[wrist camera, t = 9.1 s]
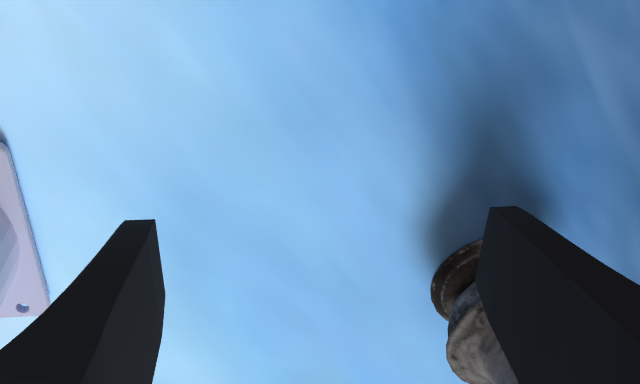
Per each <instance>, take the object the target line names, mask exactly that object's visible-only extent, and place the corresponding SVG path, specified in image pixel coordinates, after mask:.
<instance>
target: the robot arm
mask: <svg viewBox="0 0 640 384" xmlns="http://www.w3.org/2000/svg"><path fill="white" fill-rule="evenodd" d="M475 282H476V286H477V289H478V292H479V295H480V299H481V302H482V305H483V308H484V311H485V313H486V316H487V319H488V321H489V323H490V325H491V328H492V330H493V332H494V334H495V336H496V338H497V340H498V342H499V344H500V346H501V348H502V350H503V352H504V354H505V356H506V358H507V360H508V362H509V364H510V366H511V368H512V370H513V372H514V374H515V376H516V378H517V380H518V382H519V384H640V285H638V284H636V283H635V282H633V281H631V280H630V279H628V278H626V277H625V276H623V275H621V274H620V273H618V272H616V271H615V270H613V269H611V268H610V267H608V266H607V265H605V264H603V263H602V262H600V261H599V260H597V259H596V258H594V257H593V256H591V255H590V254H588V253H586V252H585V251H584V250H582V249H581V248H579V247H578V246H576V245H575V244H573V243H572V242H570V241H569V240H567V239H566V238H564V237H563V236H561V235H560V234H559V233H557V232H556V231H554V230H553V229H551V228H550V227H548V226H547V225H545V224H544V223H542V222H541V221H540V220H538V219H537V218H535V217H534V216H532V215H531V214H529V213H527V212H526V211H524V210H522V209H521V208H519V207H517V206H508V207H490V210H489V214H488V219H487V224H486V228H485V233H484V238H483V242H482V247H481V252H480V256H479V261H478V265H477V270H476V275H475ZM20 303H23V304H26V305H28V306H22V305H21V304H20ZM164 305H165V289H164V281H163V274H162V267H161V259H160V252H159V245H158V237H157V230H156V223H155V219H152V220H125V221H124V222H123V223H122V224H121V225H120V226H119V227H118V228H117V230H116V231H115V232H114V233H113V235H112V236H111V237H110V238H109V240H108V241H107V242H106V243H105V245H104V246H103V247H102V248H101V250H100V251H99V252H98V253H97V254H96V256H95V257H94V258H93V259H92V260H91V262H90V263H89V264H88V265H87V266H86V267H85V268H84V270H83V271H82V272H81V273H80V274H79V275H78V276H77V278H76V279H75V280H74V281H73V282H72V283H71V284H70V285H69V286H68V288H67V289H66V290H65V291H64V292H63V293H62V294H61V295H60V296H59V297H58V298H57V299H56V300H55V301H54V302H53V303H52V304H51V305H50V298H49V295H48V291H47V287H46V283H45V280H44V276H43V272H42V269H41V265H40V261H39V258H38V254H37V250H36V247H35V243H34V239H33V236H32V232H31V228H30V224H29V221H28V217H27V213H26V210H25V206H24V202H23V199H22V195H21V191H20V188H19V184H18V180H17V176H16V173H15V169H14V165H13V162H12V158H11V154H10V151H9V149H8V147H7V146H5V145H4V144H3V143H1V142H0V318H4V317H23V316H39V315H40V316H39V317H38V318H37V319H36V320H35V321H33V322H32V323H31V324H30V325H29V326H28V327H27V328H26V329H25V330H24V331H22V332H21V333H20V334H19V335H18V336H16V337H15V338H14V339H13V340H12V341H11V342H9V343H8V344H7V345H6V346H4V347H3V348H2V349H1V350H0V384H152V381H153V376H154V371H155V367H156V362H157V357H158V353H159V348H160V343H161V338H162V329H163V318H164Z"/></svg>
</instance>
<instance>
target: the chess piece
mask: <svg viewBox="0 0 640 384" xmlns="http://www.w3.org/2000/svg"><path fill="white" fill-rule="evenodd" d="M482 242H483V239H482V240H478V241H476V242H473V243H471V244H468V245H466V246H464V247H462V248H461V249H459V250H458V251H456V252H455V253H453V254H452V255H451V256H450V257H449V258H448V259H447V260H446V261H445V262H444V263H443V264H442V265H441V266H440V268H439V269H438V271H437V273H436V274H435V276H434V279H433V282H432V286H431V299H432V302H433V304H434V306H435V309H436V311H437V312H438V313H439V314H440V315H441V316H442V317H443V318H444V319H445V320H447V321H449V324H448V341H447V344H446V354H447V361H448V363H449V365H450V367H451V369H452V371H453V372H454V373H455V374H456V375H457V376H458V377H459V378H460V379H461V380H463V381H465V382H467V383H469V384H519V382H518V380H517V378H516V376H515V374H514V372H513V370H512V368H511V366H510V364H509V362H508V360H507V358H506V356H505V354H504V352H503V350H502V348H501V346H500V344H499V342H498V340H497V338H496V336H495V334H494V332H493V330H492V328H491V325H490V323H489V321H488V319H487V316H486V313H485V311H484V308H483V305H482V302H481V299H480V295H479V292H478V289H477V286H476V282H475V275H476V270H477V265H478V261H479V256H480V252H481V247H482Z"/></svg>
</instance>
